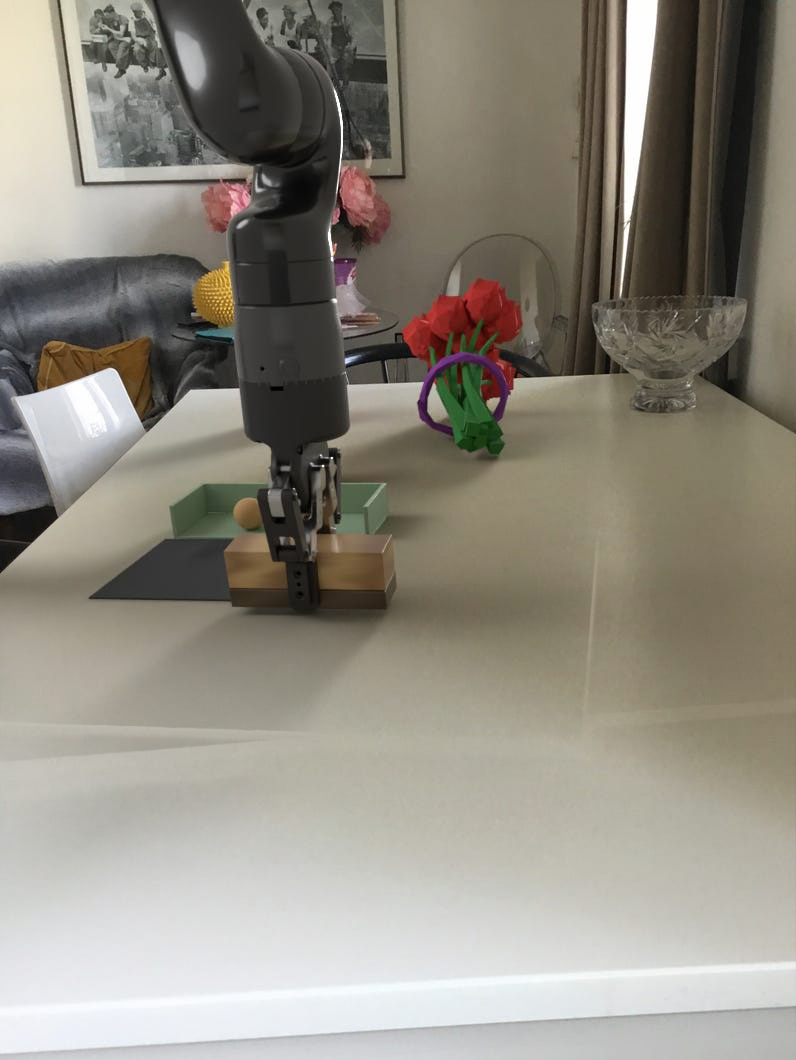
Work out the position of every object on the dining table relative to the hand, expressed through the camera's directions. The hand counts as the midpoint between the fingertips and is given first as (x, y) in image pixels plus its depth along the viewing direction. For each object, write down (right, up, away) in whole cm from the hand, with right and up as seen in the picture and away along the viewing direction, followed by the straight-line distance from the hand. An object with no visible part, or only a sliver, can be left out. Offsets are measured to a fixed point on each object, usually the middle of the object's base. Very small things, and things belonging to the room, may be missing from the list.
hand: (313, 596), depth 80 cm
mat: (-8, +3, +10) cm, 12 cm away
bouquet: (+12, +23, +57) cm, 63 cm away
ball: (-9, +9, +19) cm, 23 cm away
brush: (0, 0, 0) cm, 0 cm away
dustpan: (-6, +9, +24) cm, 27 cm away
